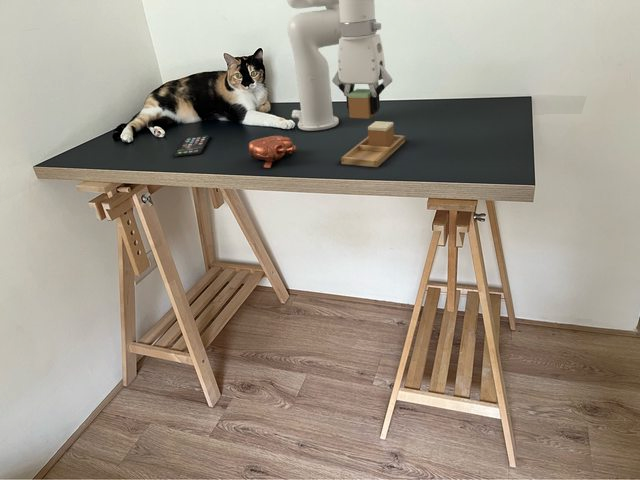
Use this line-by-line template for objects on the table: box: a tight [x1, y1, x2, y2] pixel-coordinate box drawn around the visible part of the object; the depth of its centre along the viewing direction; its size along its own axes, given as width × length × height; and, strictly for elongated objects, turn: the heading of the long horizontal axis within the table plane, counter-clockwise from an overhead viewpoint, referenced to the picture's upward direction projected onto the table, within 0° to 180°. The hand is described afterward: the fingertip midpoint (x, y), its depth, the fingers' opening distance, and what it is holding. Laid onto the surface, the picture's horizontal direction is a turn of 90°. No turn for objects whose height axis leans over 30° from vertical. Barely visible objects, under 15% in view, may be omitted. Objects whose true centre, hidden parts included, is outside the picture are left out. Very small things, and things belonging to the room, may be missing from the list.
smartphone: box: [174, 134, 210, 157], centre depth 145 cm, size 7×1×15 cm
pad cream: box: [367, 120, 395, 147], centre depth 127 cm, size 5×5×6 cm
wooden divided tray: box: [340, 134, 406, 168], centre depth 125 cm, size 10×18×2 cm, turn 150°
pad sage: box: [348, 88, 377, 120], centre depth 115 cm, size 5×5×6 cm
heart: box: [248, 135, 298, 169], centre depth 127 cm, size 6×12×15 cm
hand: (363, 111), depth 116 cm, fingers closed on pad sage, 5 cm apart
